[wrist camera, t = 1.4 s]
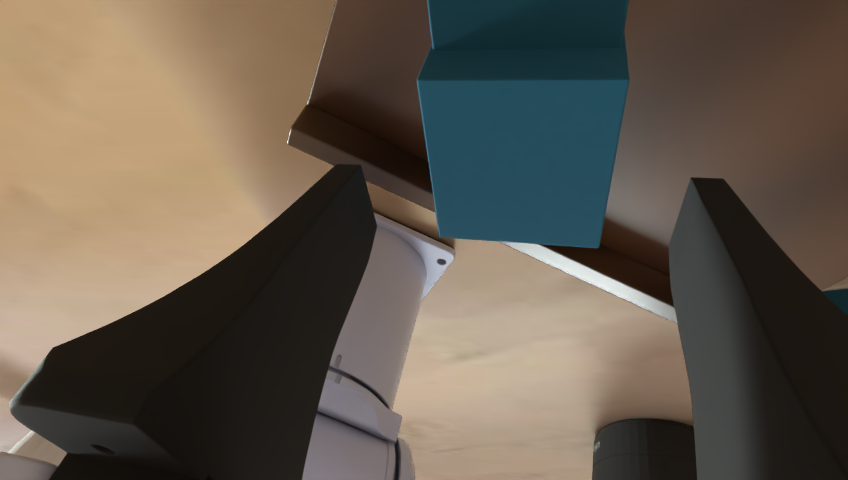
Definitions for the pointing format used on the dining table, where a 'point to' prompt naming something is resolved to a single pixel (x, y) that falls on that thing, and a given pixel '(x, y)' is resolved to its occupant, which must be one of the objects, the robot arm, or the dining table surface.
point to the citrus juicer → (38, 449)
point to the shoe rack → (635, 127)
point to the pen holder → (645, 451)
